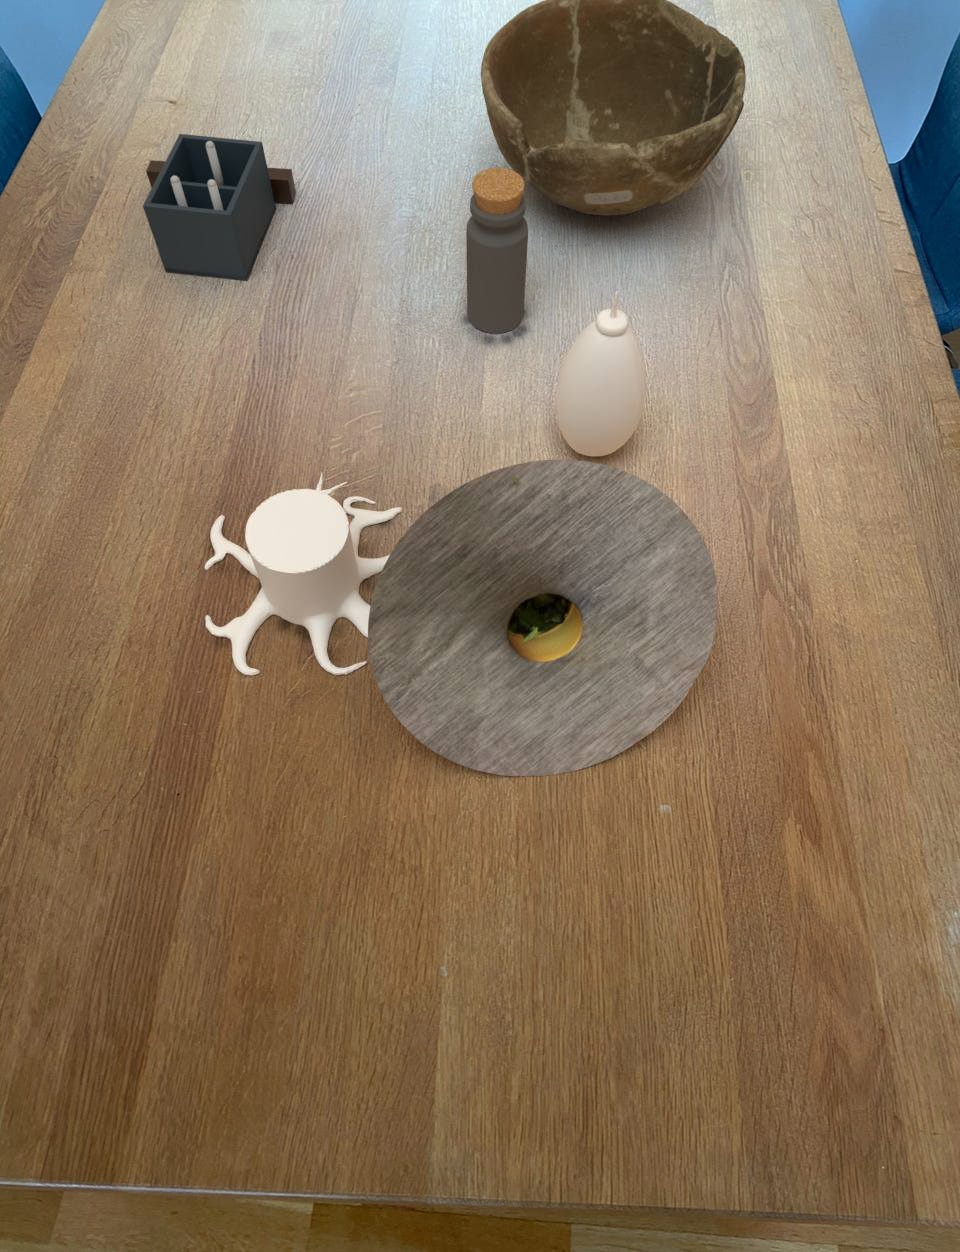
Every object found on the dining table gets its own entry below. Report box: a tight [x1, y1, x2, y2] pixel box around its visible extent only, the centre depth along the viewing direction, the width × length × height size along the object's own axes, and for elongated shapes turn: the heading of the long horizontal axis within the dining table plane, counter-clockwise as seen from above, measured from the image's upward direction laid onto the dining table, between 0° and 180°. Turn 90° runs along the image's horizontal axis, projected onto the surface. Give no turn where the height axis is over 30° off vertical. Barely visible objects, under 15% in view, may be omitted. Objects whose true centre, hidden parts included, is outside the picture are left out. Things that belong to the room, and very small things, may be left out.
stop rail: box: [145, 159, 297, 205], centre depth 106 cm, size 2×16×3 cm, turn 85°
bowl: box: [480, 0, 747, 216], centre depth 101 cm, size 28×27×15 cm
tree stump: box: [204, 471, 403, 677], centre depth 77 cm, size 20×19×8 cm
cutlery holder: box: [142, 133, 277, 282], centre depth 99 cm, size 12×9×10 cm
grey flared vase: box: [367, 459, 719, 777], centre depth 72 cm, size 25×18×25 cm
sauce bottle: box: [554, 290, 647, 457], centre depth 81 cm, size 8×8×18 cm
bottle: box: [466, 167, 529, 335], centre depth 91 cm, size 6×6×15 cm
